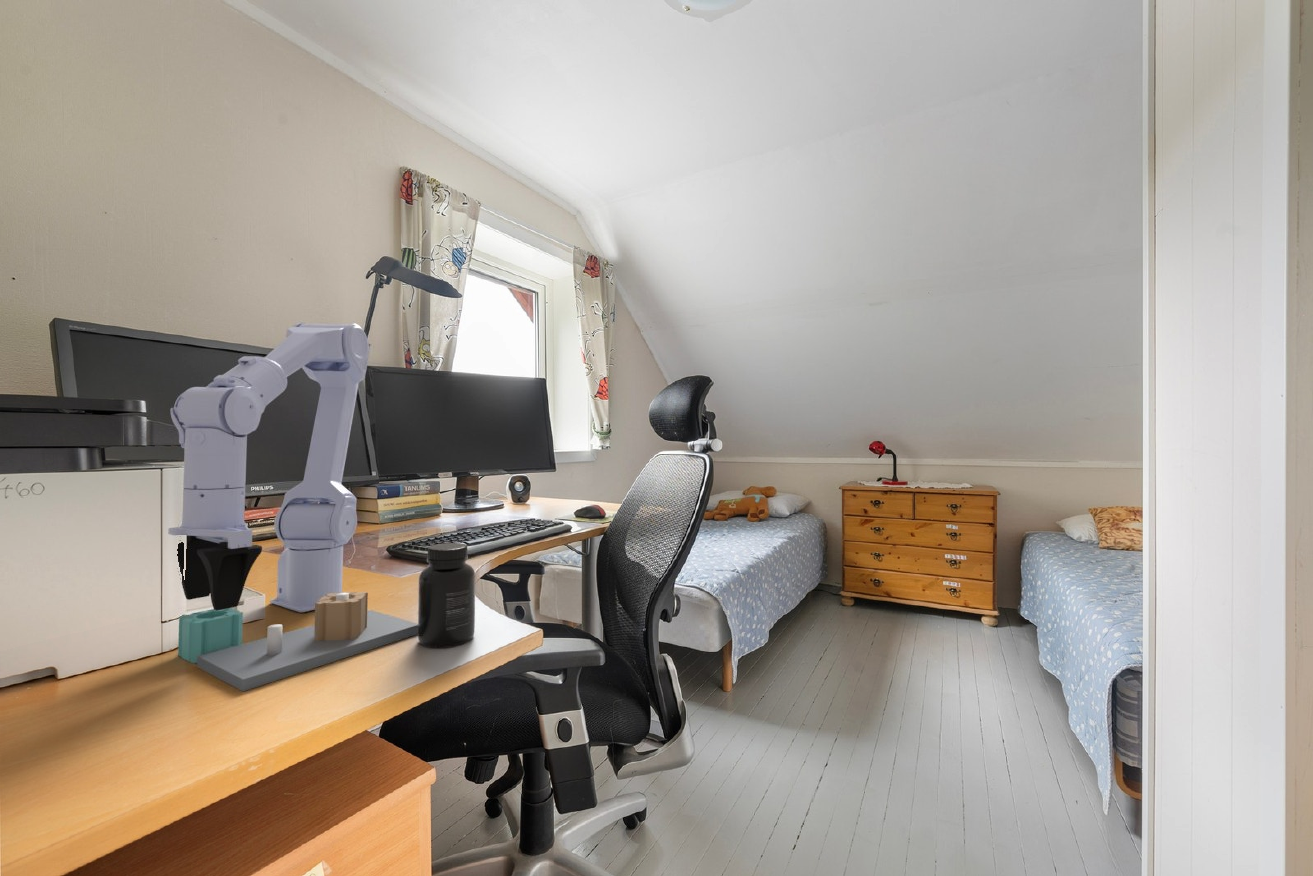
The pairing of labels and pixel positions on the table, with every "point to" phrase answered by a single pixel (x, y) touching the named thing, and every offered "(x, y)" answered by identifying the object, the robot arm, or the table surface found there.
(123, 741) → the table surface
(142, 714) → the table surface
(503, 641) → the table surface
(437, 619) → the supplement bottle
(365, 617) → the gear board
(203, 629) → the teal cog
